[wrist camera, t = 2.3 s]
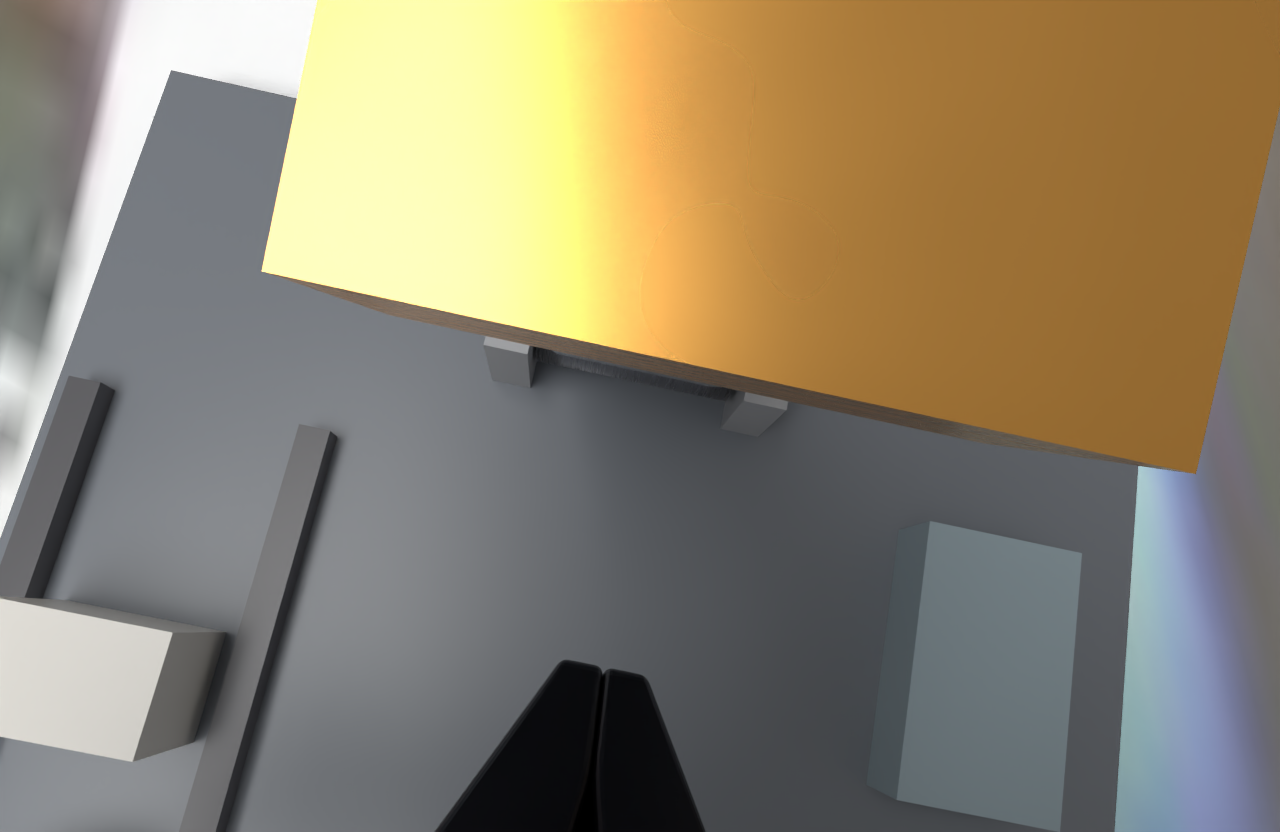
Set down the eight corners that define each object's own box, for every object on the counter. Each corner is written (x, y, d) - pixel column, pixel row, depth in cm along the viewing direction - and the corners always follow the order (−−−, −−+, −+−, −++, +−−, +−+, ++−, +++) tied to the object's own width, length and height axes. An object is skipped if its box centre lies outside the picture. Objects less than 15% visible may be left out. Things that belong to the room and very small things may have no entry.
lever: (718, 405, 19) (1220, 478, 4) (537, 366, 19) (232, 265, 3) (738, 311, 19) (1338, -35, 3) (558, 271, 19) (346, -277, 3)
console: (1015, 1559, 16) (1154, 1840, 13) (-244, 1357, 15) (-503, 1596, 12) (1110, 313, 22) (1225, 247, 18) (197, 108, 21) (119, -5, 17)
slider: (193, 742, 17) (132, 762, 14) (27, 710, 17) (-62, 724, 14) (226, 631, 17) (172, 633, 15) (65, 600, 17) (-15, 595, 15)
